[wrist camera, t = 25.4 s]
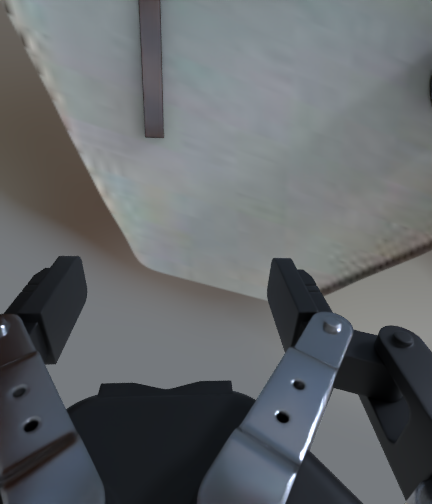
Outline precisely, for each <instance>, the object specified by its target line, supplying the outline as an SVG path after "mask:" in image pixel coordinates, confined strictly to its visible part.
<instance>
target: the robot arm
mask: <svg viewBox="0 0 432 504" xmlns="http://www.w3.org/2000/svg"><path fill="white" fill-rule="evenodd" d="M431 97H432V81H431ZM267 297H268V303H269V305H270V308H271V312H272V314H273V318H274V321H275V324H276V327H277V330H278V333H279V336H280V339H281V342H282V345H283V348H284V351H285V354H284V356H283V357H282V359H281V361H280V363H279V364H278V366H277V367H276V369H275V370H274V372H273V374H272V375H271V377H270V378H269V380H268V382H267V384H266V385H265V387H264V388H263V390H262V391H261V393H260V395H259V396H258V398H257V399H256V400H255V399H253V398H251V397H249V396H247V395H245V394H242V393H239V392H236V391H232V383H231V381H199V382H195V383H192V384H187V385H184V386H180V387H176V388H172V389H161V388H155V387H151V386H146V385H142V384H137V383H107V384H101V386H100V390H99V393H98V395H95V396H92V397H89V398H86V399H84V400H82V401H79V402H77V403H76V404H74V405H72V406H71V407H69V408H67V409H66V408H65V406H64V404H63V402H62V400H61V398H60V396H59V393H58V391H57V389H56V387H55V385H54V383H53V381H52V379H51V377H50V375H49V372H48V370H47V368H46V366H45V364H56V363H57V361H58V359H59V357H60V354H61V352H62V350H63V348H64V346H65V344H66V342H67V340H68V338H69V336H70V333H71V331H72V329H73V327H74V325H75V323H76V321H77V318H78V317H79V315H80V312H81V310H82V308H83V306H84V304H85V302H86V298H87V285H86V280H85V275H84V270H83V265H82V260H81V258H80V257H79V256H59V257H58V258H57V259H56V261H55V262H54V263H53V265H52V266H51V267H50V268H45V269H43V270H41V271H40V272H38V273H37V274H35V275H34V276H33V277H32V279H31V280H30V281H29V282H28V285H26V286H25V288H24V289H23V290H22V292H21V293H20V294H19V295H18V296H17V298H16V299H15V300H14V301H13V303H12V304H11V305H10V306H9V308H8V309H7V310H6V312H5V313H4V314H0V504H363V503H362V502H361V501H360V500H359V499H358V498H357V497H356V496H355V495H354V494H353V493H352V492H351V491H350V490H349V489H348V488H347V487H346V486H345V485H344V484H343V483H342V482H341V481H340V480H339V479H338V478H337V477H336V476H335V475H334V474H333V473H332V472H330V470H329V469H328V468H327V467H325V466H324V464H322V463H321V462H320V461H319V460H318V459H317V458H316V457H315V456H314V455H313V454H312V453H311V452H310V449H311V446H312V443H313V441H314V438H315V435H316V432H317V430H318V427H319V425H320V422H321V420H322V417H323V414H324V412H325V409H326V406H327V404H328V401H329V399H330V396H331V394H332V391H333V388H336V389H340V390H344V391H348V392H352V393H355V394H358V395H359V397H360V400H361V402H362V404H363V406H364V408H365V411H366V413H367V415H368V417H369V420H370V422H371V424H372V426H373V428H374V431H375V433H376V435H377V437H378V440H379V442H380V444H381V446H382V448H383V451H384V453H385V455H386V457H387V460H388V462H389V464H390V466H391V468H392V471H393V473H394V475H395V477H396V479H397V482H398V484H399V486H400V488H401V490H402V493H403V495H404V497H405V500H406V502H405V504H432V352H431V351H430V349H429V348H428V347H427V346H426V344H425V343H424V342H423V341H422V339H420V337H418V336H417V335H415V334H414V333H413V332H411V331H409V330H407V329H404V328H402V327H398V326H385V327H383V328H381V330H380V331H379V334H378V335H374V334H369V333H365V332H360V331H356V330H353V327H352V325H351V323H350V322H349V321H348V320H347V319H345V318H344V317H342V316H340V315H338V314H336V313H333V312H332V310H331V309H330V307H329V305H328V304H327V302H326V300H325V298H324V297H323V295H322V293H321V292H320V290H319V288H318V286H316V283H315V281H314V280H313V278H312V276H310V275H309V274H308V273H307V272H305V271H304V270H297V268H296V267H295V265H294V263H293V261H292V259H291V258H273V259H272V262H271V269H270V275H269V281H268V288H267Z"/></svg>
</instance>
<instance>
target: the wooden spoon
mask: <svg viewBox="0 0 432 504" xmlns="http://www.w3.org/2000/svg"><path fill="white" fill-rule="evenodd" d="M139 16H140V37H141V58H142V79H143V99H144V120H145V137H151V138H164V129H163V90H162V51H161V12H160V0H139Z"/></svg>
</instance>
